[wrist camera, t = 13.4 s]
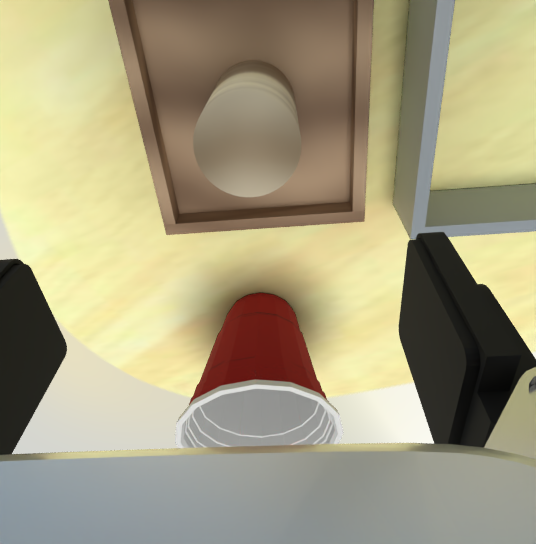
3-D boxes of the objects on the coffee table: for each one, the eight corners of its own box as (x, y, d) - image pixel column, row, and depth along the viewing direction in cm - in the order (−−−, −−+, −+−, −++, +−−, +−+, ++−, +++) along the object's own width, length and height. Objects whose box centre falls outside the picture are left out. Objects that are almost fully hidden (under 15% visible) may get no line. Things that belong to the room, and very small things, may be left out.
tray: (112, -39, 24) (98, -40, 22) (368, -67, 23) (376, -70, 21) (172, 219, 32) (166, 234, 30) (358, 206, 32) (364, 221, 30)
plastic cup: (266, 380, 42) (263, 506, 32) (175, 321, 38) (140, 444, 28) (353, 318, 38) (380, 443, 28) (260, 243, 33) (253, 357, 24)
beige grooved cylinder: (207, 64, 26) (183, 95, 19) (292, 56, 25) (298, 84, 19) (219, 148, 28) (203, 200, 22) (296, 141, 28) (303, 193, 22)
